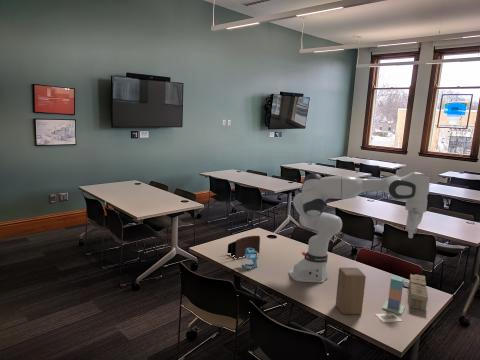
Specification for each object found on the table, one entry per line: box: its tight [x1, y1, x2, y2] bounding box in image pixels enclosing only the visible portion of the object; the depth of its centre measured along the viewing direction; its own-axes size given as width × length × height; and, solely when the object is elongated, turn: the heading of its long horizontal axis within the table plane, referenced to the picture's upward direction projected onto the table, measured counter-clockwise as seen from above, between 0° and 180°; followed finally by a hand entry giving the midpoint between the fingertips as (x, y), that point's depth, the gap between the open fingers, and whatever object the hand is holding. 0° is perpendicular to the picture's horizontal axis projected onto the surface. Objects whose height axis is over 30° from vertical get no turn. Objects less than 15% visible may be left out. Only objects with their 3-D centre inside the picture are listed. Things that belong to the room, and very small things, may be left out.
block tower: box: [408, 273, 429, 311], centre depth 192 cm, size 8×8×29 cm
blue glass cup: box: [242, 248, 259, 270], centre depth 221 cm, size 8×8×12 cm
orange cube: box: [388, 287, 403, 301], centre depth 178 cm, size 5×5×5 cm
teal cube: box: [389, 275, 405, 291], centre depth 178 cm, size 5×5×5 cm
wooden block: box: [335, 267, 367, 315], centre depth 174 cm, size 10×10×20 cm
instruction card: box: [374, 312, 403, 323], centre depth 170 cm, size 10×7×1 cm
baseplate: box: [381, 297, 406, 316], centre depth 179 cm, size 9×9×6 cm
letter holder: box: [226, 235, 261, 258], centre depth 241 cm, size 10×20×14 cm, turn 126°
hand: (412, 235), depth 170 cm, fingers open, 8 cm apart
